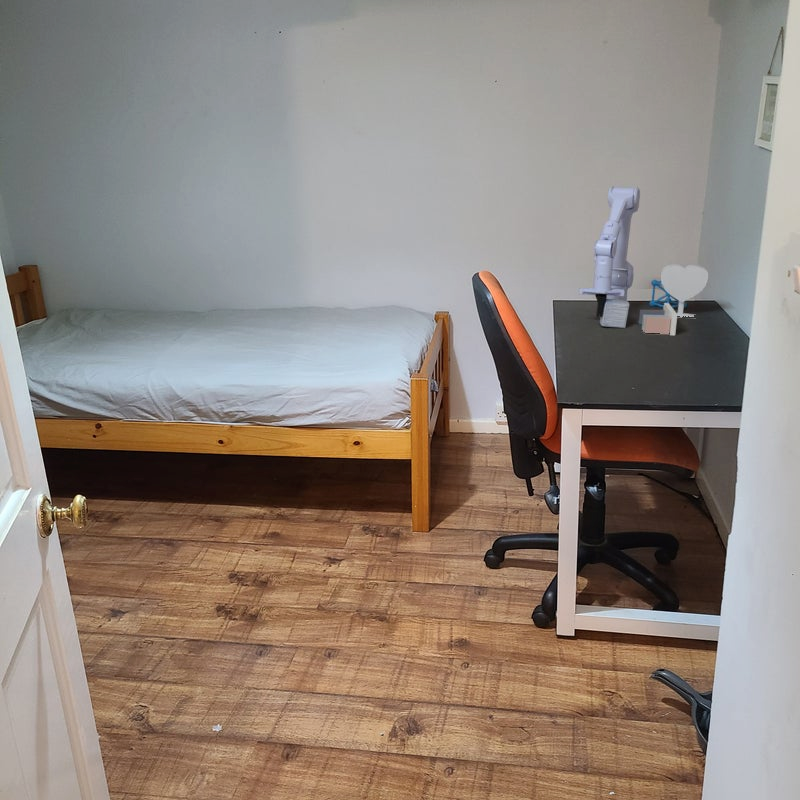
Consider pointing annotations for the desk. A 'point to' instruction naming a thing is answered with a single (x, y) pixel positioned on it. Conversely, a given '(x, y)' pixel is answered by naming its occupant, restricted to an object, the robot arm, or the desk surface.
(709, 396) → the desk surface
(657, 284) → the molecular structure
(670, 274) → the heart sculpture
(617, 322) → the medicine box
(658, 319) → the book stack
